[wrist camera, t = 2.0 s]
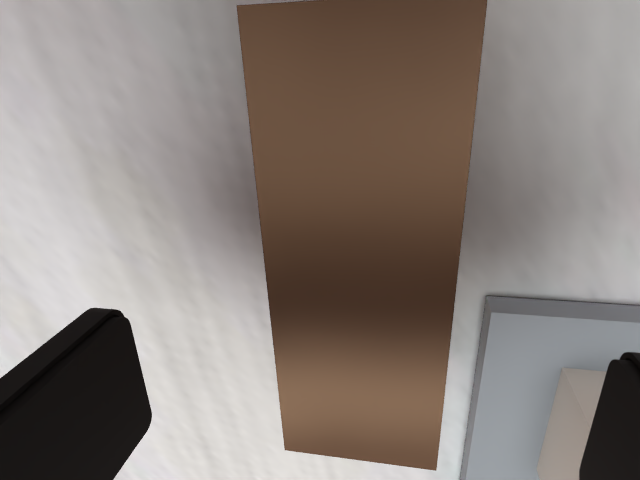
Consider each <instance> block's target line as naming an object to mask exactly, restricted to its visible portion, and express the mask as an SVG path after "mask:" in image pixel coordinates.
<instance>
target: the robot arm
mask: <svg viewBox="0 0 640 480" xmlns="http://www.w3.org/2000/svg"><path fill="white" fill-rule="evenodd" d="M151 418H152V413H151V408H150V404H149V400H148V395H147V391H146V387H145V383H144V379H143V375H142V370H141V366H140V362H139V358H138V354H137V350H136V345H135V341H134V337H133V333H132V329H131V325H130V322H129V320H128V319H127V318H125V317H124V315H123V313H122V312H121V311H119V310H115V309H103V308H90V309H89V310H87V311H85V312H84V313H83V314H82V315H80V316H79V317H78V318H77V319H75V320H74V321H73V322H71V323H70V324H69V325H68V326H66V327H65V328H64V329H63V330H61V331H60V332H59V333H57V334H56V335H55V336H54V337H52V338H51V339H50V340H49V341H47V342H46V343H45V344H43V345H42V346H41V347H40V348H38V349H37V350H36V351H35V352H33V353H32V354H31V355H29V356H28V357H27V358H26V359H24V360H23V361H22V362H21V363H19V364H18V365H17V366H15V367H14V368H13V369H12V370H10V371H9V372H8V373H7V374H5V375H4V376H3V377H1V378H0V480H113V479H114V477H115V476H116V475H117V473H118V472H119V470H120V469H121V467H122V466H123V465H124V463H125V462H126V460H127V459H128V458H129V456H130V455H131V453H132V452H133V450H134V449H135V448H136V446H137V445H138V443H139V442H140V440H141V439H142V438H143V436H144V435H145V433H146V432H147V430H148V428H149V426H150V423H151ZM579 480H640V353H636V352H625V353H623V354H622V355H621V357H620V359H619V360H618V359H614V360H611V362H610V363H609V365H608V369H607V372H606V376H605V379H604V383H603V386H602V390H601V394H600V397H599V401H598V404H597V408H596V411H595V415H594V418H593V422H592V426H591V429H590V433H589V436H588V440H587V443H586V447H585V451H584V454H583V458H582V461H581V465H580V469H579Z"/></svg>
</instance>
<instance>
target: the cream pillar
mask: <svg viewBox="0 0 640 480" xmlns="http://www.w3.org/2000/svg"><path fill="white" fill-rule="evenodd" d="M605 376H606V371H595V370H584V369H573V368H562V370H561V374H560V378H559V382H558V386H557V390H556V394H555V398H554V402H553V406H552V410H551V414H550V418H549V422H548V425H547V429H546V433H545V437H544V441H543V445H542V449H541V453H540V457H539V461H538V465H537V472H538V476H539V479H540V480H579V469H580V465H581V461H582V458H583V454H584V451H585V447H586V443H587V440H588V436H589V433H590V429H591V426H592V422H593V418H594V415H595V411H596V408H597V404H598V401H599V397H600V394H601V390H602V386H603V383H604V379H605Z"/></svg>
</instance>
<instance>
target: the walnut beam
mask: <svg viewBox="0 0 640 480" xmlns="http://www.w3.org/2000/svg"><path fill="white" fill-rule="evenodd" d="M486 8H487V0H317V1H301V2H285V3H269V4H252V5H237V14H238V23H239V32H240V41H241V50H242V60H243V69H244V78H245V87H246V97H247V106H248V115H249V124H250V133H251V143H252V152H253V161H254V170H255V179H256V189H257V198H258V207H259V216H260V226H261V235H262V244H263V253H264V262H265V272H266V281H267V290H268V299H269V309H270V318H271V327H272V336H273V345H274V355H275V364H276V373H277V382H278V392H279V401H280V410H281V419H282V428H283V438H284V447H285V450H288V451H295V452H303V453H310V454H318V455H325V456H332V457H340V458H347V459H355V460H362V461H370V462H377V463H384V464H392V465H399V466H407V467H414V468H421V469H429V470H436V468H437V459H438V450H439V441H440V431H441V422H442V413H443V404H444V395H445V385H446V376H447V367H448V358H449V349H450V339H451V330H452V321H453V312H454V302H455V293H456V284H457V275H458V266H459V256H460V247H461V238H462V229H463V220H464V210H465V201H466V192H467V183H468V173H469V164H470V155H471V146H472V137H473V127H474V118H475V109H476V100H477V91H478V81H479V72H480V63H481V54H482V44H483V35H484V26H485V17H486Z"/></svg>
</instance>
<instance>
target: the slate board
mask: <svg viewBox="0 0 640 480" xmlns="http://www.w3.org/2000/svg"><path fill="white" fill-rule="evenodd" d="M625 352H636V353H640V306H636V305H620V304H604V303H588V302H573V301H557V300H541V299H526V298H510V297H494V296H487V297H486V303H485V310H484V317H483V324H482V331H481V338H480V345H479V351H478V358H477V365H476V372H475V379H474V386H473V393H472V399H471V406H470V413H469V420H468V427H467V434H466V441H465V447H464V454H463V461H462V468H461V475H460V480H540V479H539V476H538V472H537V465H538V461H539V457H540V453H541V449H542V445H543V441H544V437H545V433H546V429H547V425H548V422H549V418H550V414H551V410H552V406H553V402H554V398H555V394H556V390H557V386H558V382H559V378H560V374H561V370H562V368H573V369H584V370H595V371H606V372H607V369H608V365H609V363H610V362H611V360H614V359H618V360H619V359H620V357H621V355H622V354H623V353H625Z"/></svg>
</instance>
